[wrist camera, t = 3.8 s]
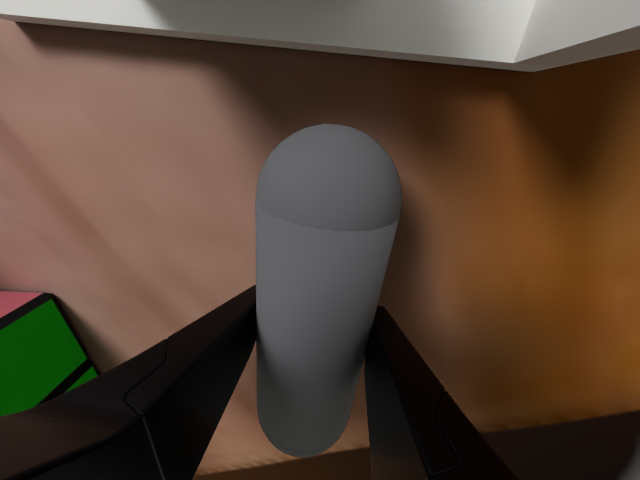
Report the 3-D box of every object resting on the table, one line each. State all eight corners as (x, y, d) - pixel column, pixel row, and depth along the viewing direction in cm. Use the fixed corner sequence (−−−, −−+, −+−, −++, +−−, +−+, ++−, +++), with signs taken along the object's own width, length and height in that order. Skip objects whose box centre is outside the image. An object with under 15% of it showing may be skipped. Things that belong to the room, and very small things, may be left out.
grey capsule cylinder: (280, 113, 8) (223, 116, 5) (406, 128, 8) (440, 142, 4) (272, 378, 13) (242, 466, 10) (346, 392, 13) (341, 488, 10)
